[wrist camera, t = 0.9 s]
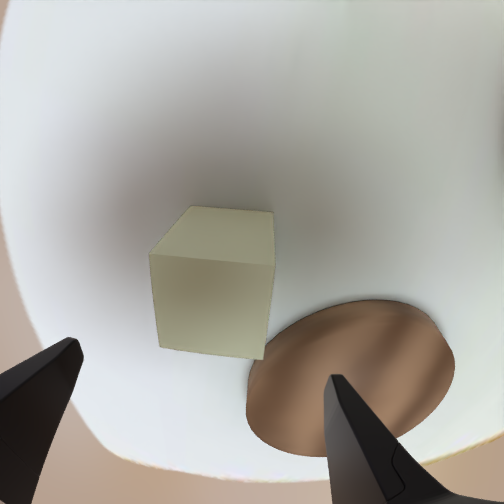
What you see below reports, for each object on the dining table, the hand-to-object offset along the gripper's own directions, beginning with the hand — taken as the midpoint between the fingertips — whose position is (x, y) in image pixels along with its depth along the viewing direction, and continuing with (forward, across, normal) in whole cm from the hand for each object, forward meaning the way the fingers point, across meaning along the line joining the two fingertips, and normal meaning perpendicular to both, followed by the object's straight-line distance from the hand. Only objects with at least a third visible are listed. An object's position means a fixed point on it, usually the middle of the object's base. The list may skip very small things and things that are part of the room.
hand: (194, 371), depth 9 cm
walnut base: (+10, -11, +12) cm, 19 cm away
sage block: (+10, 0, 0) cm, 11 cm away
